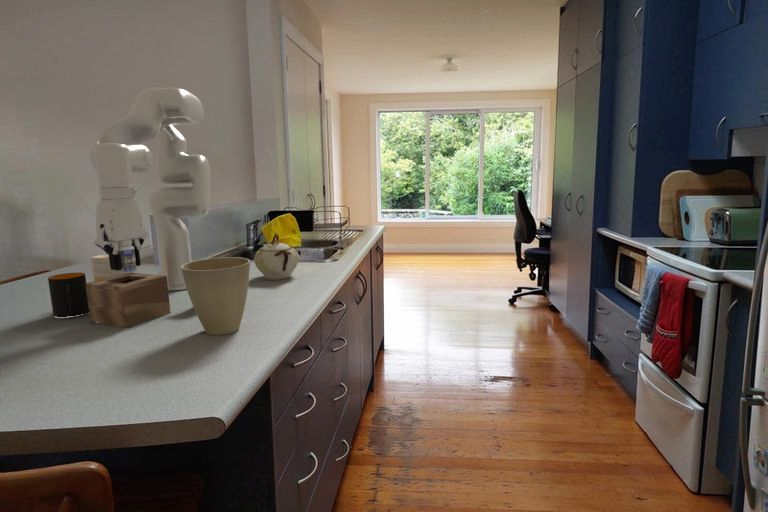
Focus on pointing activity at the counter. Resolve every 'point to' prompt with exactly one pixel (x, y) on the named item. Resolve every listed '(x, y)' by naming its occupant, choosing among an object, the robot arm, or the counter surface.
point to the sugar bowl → (276, 260)
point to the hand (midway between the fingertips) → (125, 266)
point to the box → (128, 299)
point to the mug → (68, 294)
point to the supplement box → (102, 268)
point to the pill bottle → (127, 257)
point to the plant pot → (218, 292)
